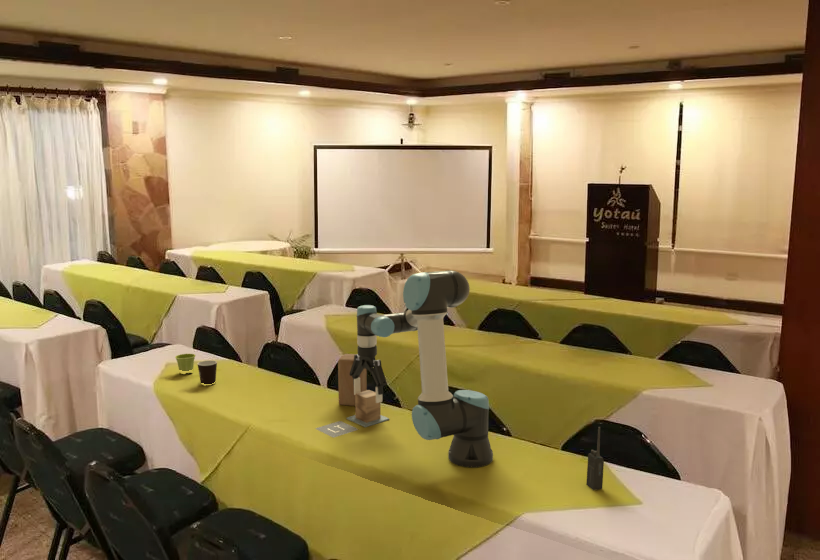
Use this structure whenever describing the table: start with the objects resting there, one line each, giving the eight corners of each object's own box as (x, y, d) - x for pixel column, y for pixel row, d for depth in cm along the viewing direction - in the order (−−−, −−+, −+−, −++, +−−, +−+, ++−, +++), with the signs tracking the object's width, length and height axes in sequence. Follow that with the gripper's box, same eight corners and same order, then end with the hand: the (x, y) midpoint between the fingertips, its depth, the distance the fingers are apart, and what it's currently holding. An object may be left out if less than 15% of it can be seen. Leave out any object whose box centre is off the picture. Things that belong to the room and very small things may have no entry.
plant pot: (172, 375, 320) (171, 358, 319) (182, 370, 329) (181, 353, 328) (190, 376, 318) (189, 359, 317) (199, 371, 328) (199, 353, 326)
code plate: (359, 429, 252) (359, 429, 252) (333, 437, 244) (333, 437, 244) (340, 421, 261) (340, 420, 261) (314, 428, 253) (314, 428, 253)
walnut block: (380, 418, 262) (380, 394, 261) (366, 422, 258) (366, 398, 256) (369, 413, 267) (369, 389, 266) (355, 417, 263) (355, 393, 261)
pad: (389, 419, 262) (389, 418, 262) (365, 427, 254) (365, 426, 254) (370, 411, 271) (370, 410, 271) (346, 419, 263) (346, 417, 263)
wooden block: (361, 407, 277) (360, 360, 274) (338, 405, 279) (337, 359, 276) (367, 399, 287) (366, 354, 283) (345, 397, 289) (344, 352, 285)
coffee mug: (214, 386, 303) (213, 365, 301) (195, 386, 303) (194, 365, 302) (222, 379, 314) (221, 358, 313) (203, 379, 315) (203, 358, 313)
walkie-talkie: (603, 489, 205) (606, 427, 201) (593, 490, 204) (596, 428, 201) (595, 482, 209) (597, 421, 206) (585, 484, 208) (588, 423, 205)
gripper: (395, 349, 251) (396, 403, 254) (355, 338, 270) (356, 389, 273) (380, 352, 246) (381, 407, 249) (340, 341, 265) (341, 393, 268)
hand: (368, 398), depth 261 cm, fingers open, 13 cm apart
